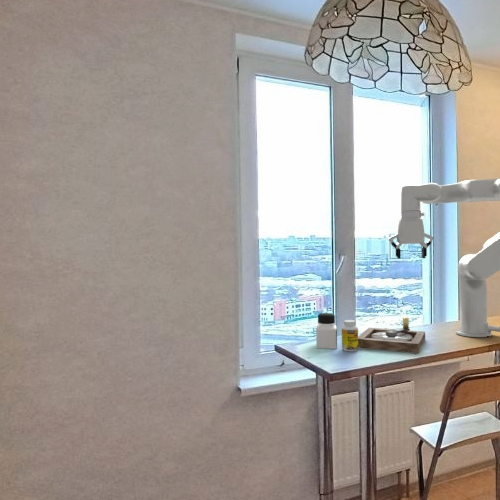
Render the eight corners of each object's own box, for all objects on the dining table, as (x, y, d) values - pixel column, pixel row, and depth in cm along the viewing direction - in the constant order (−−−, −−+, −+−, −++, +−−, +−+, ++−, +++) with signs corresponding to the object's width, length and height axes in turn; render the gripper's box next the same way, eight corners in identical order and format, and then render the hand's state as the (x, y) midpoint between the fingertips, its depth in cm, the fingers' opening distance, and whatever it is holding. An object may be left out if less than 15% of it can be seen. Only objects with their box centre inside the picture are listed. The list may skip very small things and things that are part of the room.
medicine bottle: (336, 349, 154) (336, 315, 154) (316, 348, 155) (315, 315, 155) (337, 344, 161) (336, 311, 161) (317, 343, 162) (316, 311, 162)
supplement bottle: (346, 352, 149) (346, 322, 149) (339, 348, 154) (338, 320, 154) (361, 351, 150) (360, 321, 150) (353, 347, 156) (352, 318, 156)
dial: (395, 346, 150) (394, 325, 150) (363, 339, 162) (363, 320, 161) (424, 339, 159) (423, 320, 159) (392, 333, 171) (392, 315, 171)
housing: (425, 340, 164) (425, 331, 164) (418, 353, 146) (418, 343, 146) (368, 335, 174) (368, 327, 174) (355, 347, 155) (355, 338, 155)
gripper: (430, 215, 178) (430, 257, 179) (386, 217, 181) (387, 258, 181) (435, 214, 171) (436, 258, 171) (390, 216, 173) (390, 259, 174)
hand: (411, 258), depth 176 cm, fingers open, 9 cm apart
